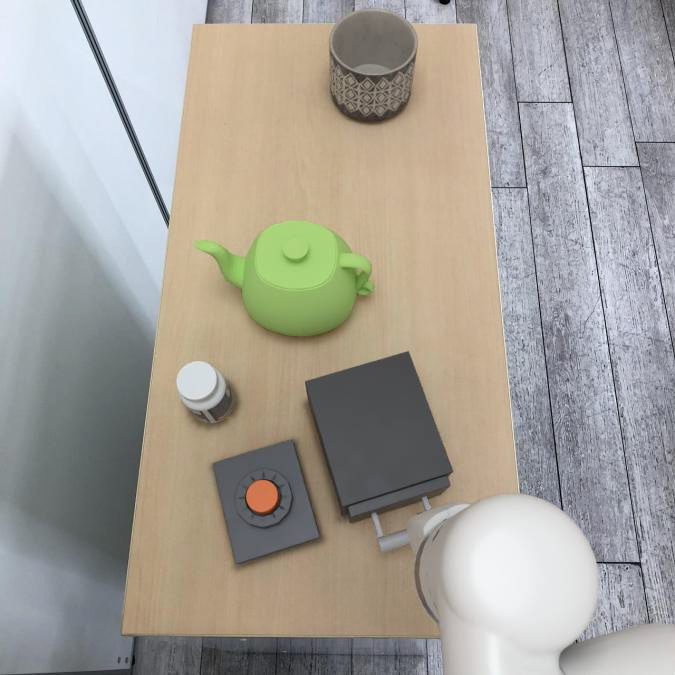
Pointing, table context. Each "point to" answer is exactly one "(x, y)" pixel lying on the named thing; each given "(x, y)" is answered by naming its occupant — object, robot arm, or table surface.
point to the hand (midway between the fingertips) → (434, 576)
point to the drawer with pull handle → (394, 502)
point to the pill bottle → (205, 392)
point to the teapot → (296, 277)
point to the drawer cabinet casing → (376, 429)
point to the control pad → (281, 523)
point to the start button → (262, 496)
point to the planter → (372, 63)
